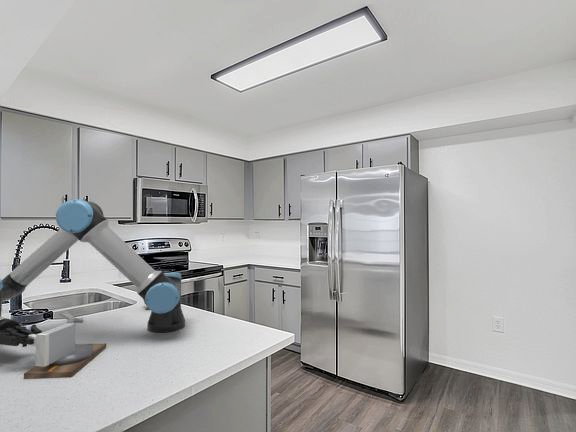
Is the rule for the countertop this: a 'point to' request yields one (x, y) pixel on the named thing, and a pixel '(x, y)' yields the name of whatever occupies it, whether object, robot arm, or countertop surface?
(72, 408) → the countertop surface
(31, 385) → the countertop surface
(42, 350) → the grey panel and disc
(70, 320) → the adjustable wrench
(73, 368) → the dial board
